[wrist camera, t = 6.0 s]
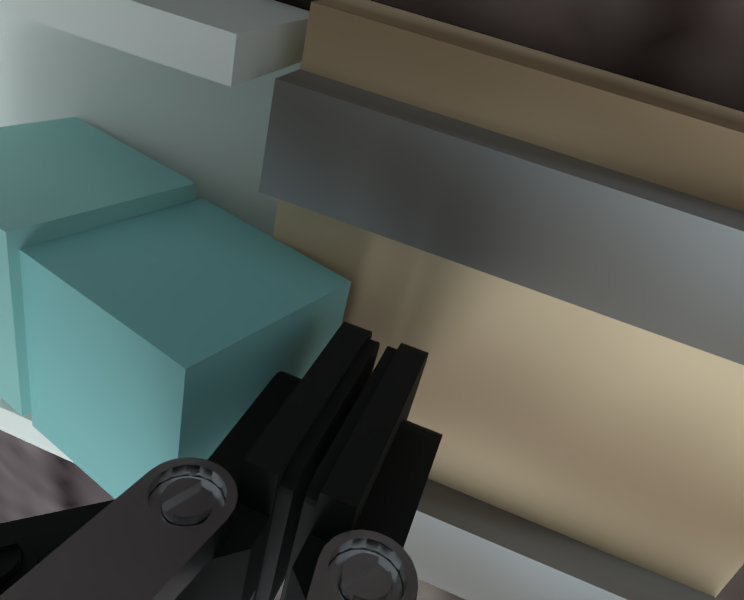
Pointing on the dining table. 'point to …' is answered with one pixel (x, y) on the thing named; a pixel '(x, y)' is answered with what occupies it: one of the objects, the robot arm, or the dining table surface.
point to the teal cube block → (165, 334)
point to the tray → (156, 91)
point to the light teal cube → (64, 211)
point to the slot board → (533, 296)
